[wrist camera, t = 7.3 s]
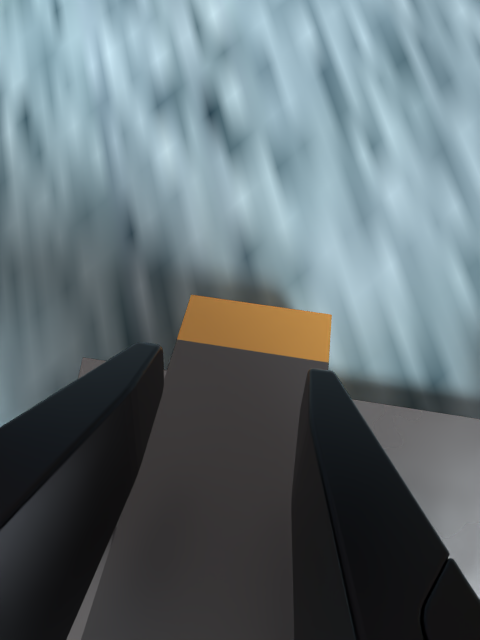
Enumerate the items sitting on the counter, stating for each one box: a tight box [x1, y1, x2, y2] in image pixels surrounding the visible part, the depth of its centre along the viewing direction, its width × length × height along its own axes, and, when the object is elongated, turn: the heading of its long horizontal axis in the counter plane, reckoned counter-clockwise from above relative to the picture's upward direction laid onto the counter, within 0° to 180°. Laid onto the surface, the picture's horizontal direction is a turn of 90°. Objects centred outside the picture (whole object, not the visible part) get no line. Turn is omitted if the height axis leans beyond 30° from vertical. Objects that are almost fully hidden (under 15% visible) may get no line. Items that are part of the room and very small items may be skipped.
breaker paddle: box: [81, 295, 332, 640], centre depth 11 cm, size 2×4×10 cm
